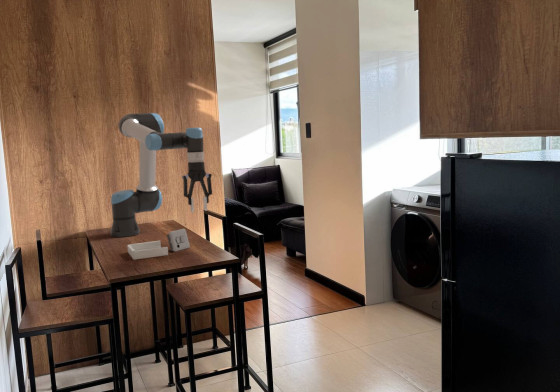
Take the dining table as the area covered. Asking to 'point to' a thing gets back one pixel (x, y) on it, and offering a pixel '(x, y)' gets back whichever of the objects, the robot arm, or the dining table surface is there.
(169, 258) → the dining table surface
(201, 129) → the robot arm
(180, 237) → the electrical switch
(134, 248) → the u-shaped bracket
